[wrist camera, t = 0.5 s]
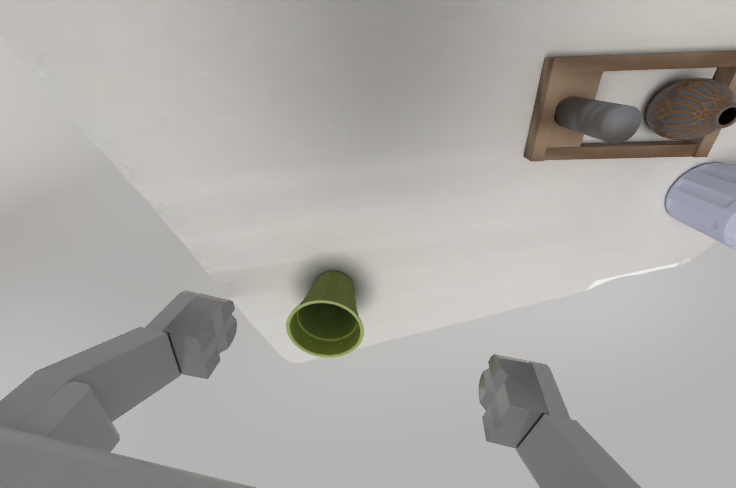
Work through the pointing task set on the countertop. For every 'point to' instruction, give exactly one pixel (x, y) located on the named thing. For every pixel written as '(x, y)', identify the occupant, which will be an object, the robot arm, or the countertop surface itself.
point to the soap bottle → (707, 201)
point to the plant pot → (327, 318)
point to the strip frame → (608, 108)
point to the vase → (692, 109)
